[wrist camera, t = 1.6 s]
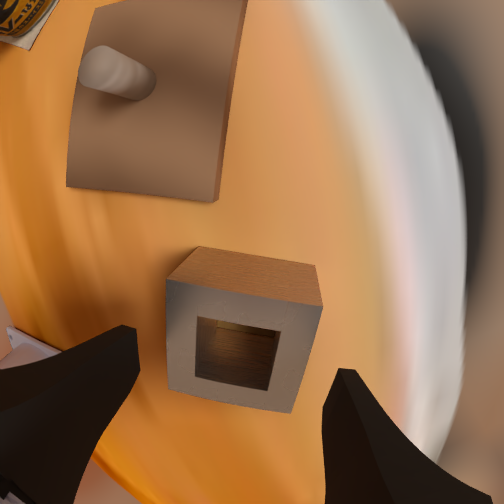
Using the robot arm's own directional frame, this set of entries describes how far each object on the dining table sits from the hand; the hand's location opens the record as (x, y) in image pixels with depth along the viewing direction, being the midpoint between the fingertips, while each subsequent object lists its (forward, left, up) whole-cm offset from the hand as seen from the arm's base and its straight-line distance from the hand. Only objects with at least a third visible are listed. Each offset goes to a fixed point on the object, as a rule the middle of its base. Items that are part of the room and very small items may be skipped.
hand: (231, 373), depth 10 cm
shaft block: (+10, +6, -5) cm, 13 cm away
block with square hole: (0, 0, -5) cm, 5 cm away
